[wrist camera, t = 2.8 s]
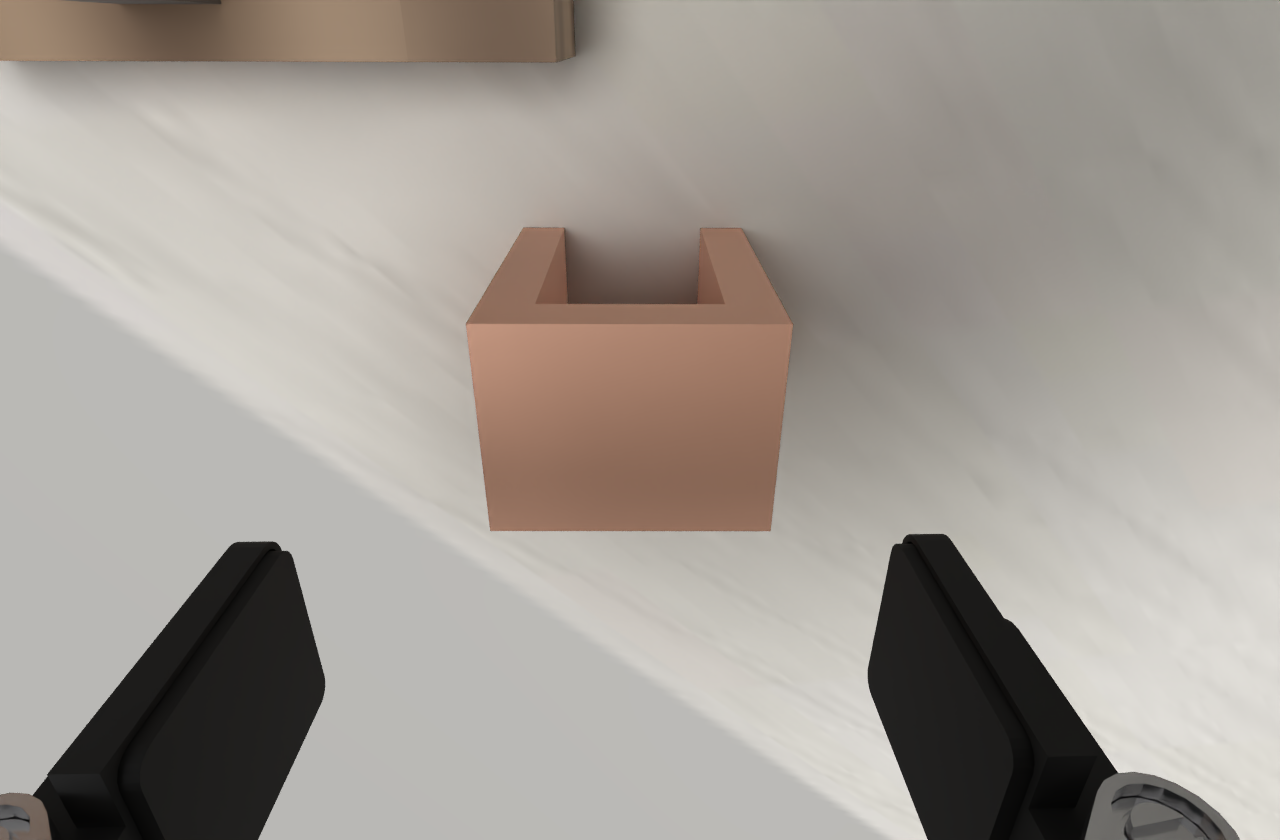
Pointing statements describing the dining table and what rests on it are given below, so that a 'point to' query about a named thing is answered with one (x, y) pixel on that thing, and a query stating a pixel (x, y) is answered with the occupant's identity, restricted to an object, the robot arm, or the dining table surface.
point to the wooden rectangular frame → (287, 30)
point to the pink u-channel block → (629, 396)
